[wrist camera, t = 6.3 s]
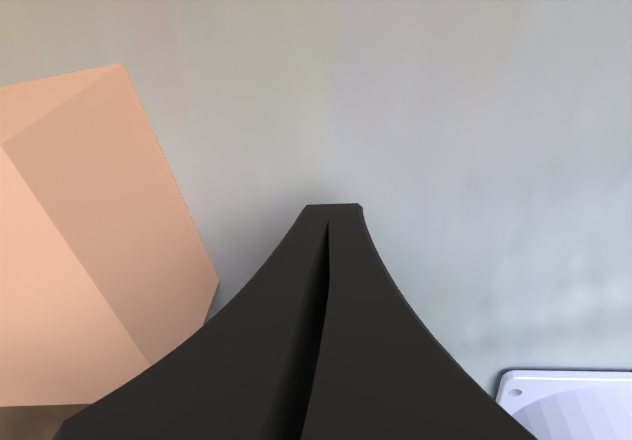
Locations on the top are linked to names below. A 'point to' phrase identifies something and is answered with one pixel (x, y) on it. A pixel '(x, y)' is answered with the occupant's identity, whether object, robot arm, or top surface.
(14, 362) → the block
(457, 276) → the top surface
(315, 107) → the top surface
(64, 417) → the plank
